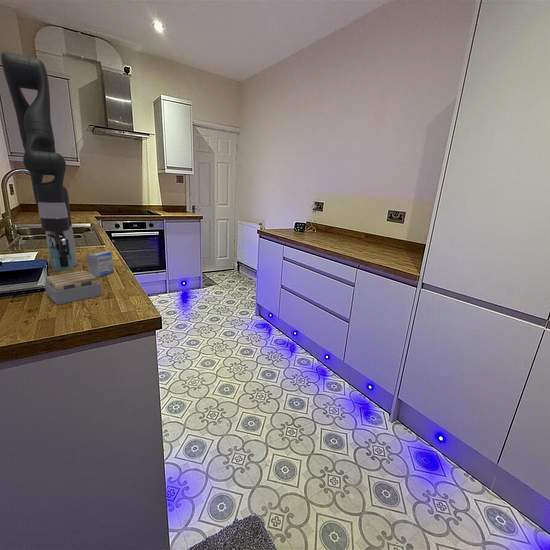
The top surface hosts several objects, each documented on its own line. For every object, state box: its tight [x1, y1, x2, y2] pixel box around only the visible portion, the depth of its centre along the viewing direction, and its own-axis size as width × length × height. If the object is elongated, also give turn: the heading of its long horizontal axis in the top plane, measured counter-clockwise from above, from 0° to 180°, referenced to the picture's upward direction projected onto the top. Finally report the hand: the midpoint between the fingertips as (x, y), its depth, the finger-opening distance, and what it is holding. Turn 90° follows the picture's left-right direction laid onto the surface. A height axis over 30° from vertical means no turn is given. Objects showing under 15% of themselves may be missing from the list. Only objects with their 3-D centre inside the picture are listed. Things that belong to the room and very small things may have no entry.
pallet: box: [45, 270, 98, 291], centre depth 91 cm, size 11×11×2 cm
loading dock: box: [44, 281, 103, 306], centre depth 92 cm, size 12×12×4 cm
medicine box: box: [87, 250, 115, 278], centre depth 114 cm, size 8×4×9 cm, turn 168°
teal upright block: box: [47, 245, 74, 273], centre depth 100 cm, size 5×5×8 cm
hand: (62, 264), depth 100 cm, fingers closed on teal upright block, 5 cm apart
